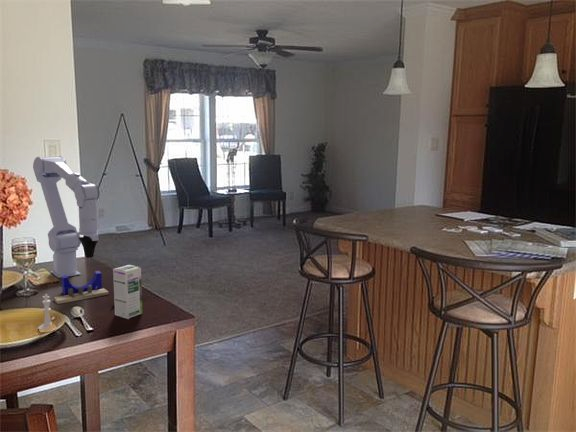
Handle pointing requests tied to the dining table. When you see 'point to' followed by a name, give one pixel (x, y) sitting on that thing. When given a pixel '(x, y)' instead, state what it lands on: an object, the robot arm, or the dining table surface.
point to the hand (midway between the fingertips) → (89, 257)
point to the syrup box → (127, 291)
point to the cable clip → (94, 282)
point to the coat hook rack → (80, 294)
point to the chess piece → (46, 314)
